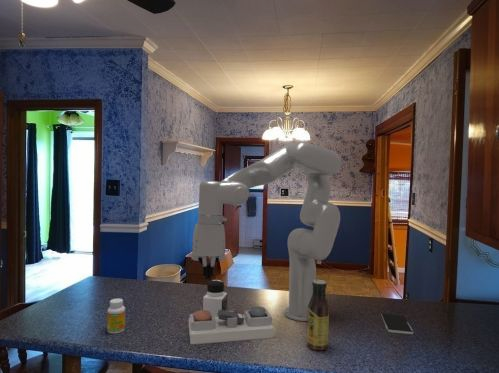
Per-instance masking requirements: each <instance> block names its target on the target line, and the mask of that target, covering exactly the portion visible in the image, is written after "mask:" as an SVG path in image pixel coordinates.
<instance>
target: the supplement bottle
mask: <svg viewBox="0 0 499 373" xmlns="http://www.w3.org/2000/svg"><path fill="white" fill-rule="evenodd" d="M106 315H107V320H106V321H107V322H106V324H107V325H106V326H107V327H106V331H107V333H109V334H113V335H114V334H119V333H122V332H124V331H125V329H126V307H125V306H124V299H123V298H112V299H111V300H110V301H109V307H108V308H107V313H106Z"/></svg>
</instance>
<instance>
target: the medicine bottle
mask: <svg viewBox="0 0 499 373" xmlns="http://www.w3.org/2000/svg"><path fill="white" fill-rule="evenodd" d="M206 287H207V288H206V291H207V292H206V294H205V295H204V296H203V298H202V304H203V305H202V310H208V311H210V312H211V313H214V317H218V315H217V314H218V310H224V311H228V292H225V282H224V281H222V280H220V279H212V280H209V281H208V282H207V286H206Z"/></svg>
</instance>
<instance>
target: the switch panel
mask: <svg viewBox="0 0 499 373" xmlns="http://www.w3.org/2000/svg"><path fill="white" fill-rule="evenodd" d="M265 309H266V308H265ZM228 311H229V312H234V313H235V311H234V310H228ZM243 312H244V313H243V314H242V315H243V317H244V322H243V324H242V323H237V317H234V318H227V321H226V320H221V319H219V318H218V317H214V313H211V319H210V321H197V322H195V312H194V313H189V318H188V334H189V340H190V341H189V342H190V345H202V344H213V343H215V344H216V343H224V342H228V343H229V342H236V341H237V342H238V341H239V342H240V341H248V340H249V341H251V340H261V339H263V340H264V339H272V338H273V339H274V338H275V330H276V329H275V326H274V325H273V323H272V320H273V319H272V318H273V317H272V315H271V314H270V312H269V311H268V309H266V312H265V317H255V318H251V316H250V309H247V310H244V311H243Z"/></svg>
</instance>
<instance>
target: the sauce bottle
mask: <svg viewBox="0 0 499 373" xmlns="http://www.w3.org/2000/svg"><path fill="white" fill-rule="evenodd" d="M312 286H313V294H312V297H311V300H310V302H309V305H308V318H307V321H306V322H307V323H306V342H307V343H306V344H307V346H308V348H310V349H311V350H315V351H323V350H324V351H325V350H327V348H328V343H329V341H328V340H329V327H330V326H329V324H330V323H329V322H330V321H329V320H330V313H329V312H330V311H329V310H330V304H329V302H328V299H327V294H326V291H327V290H326V288H327V281H325V280H323V279H316V280H314V281H313V283H312Z"/></svg>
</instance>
